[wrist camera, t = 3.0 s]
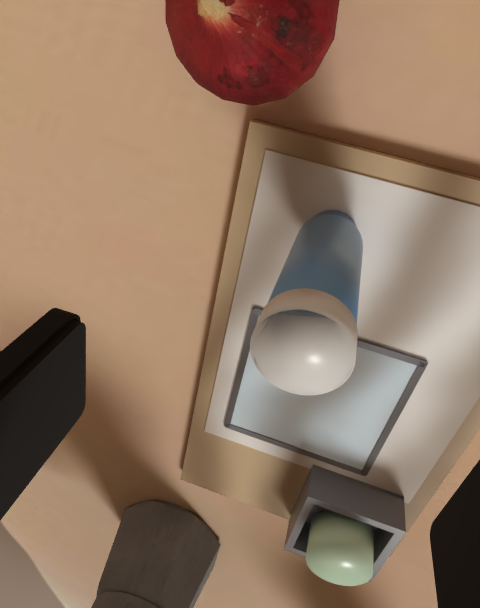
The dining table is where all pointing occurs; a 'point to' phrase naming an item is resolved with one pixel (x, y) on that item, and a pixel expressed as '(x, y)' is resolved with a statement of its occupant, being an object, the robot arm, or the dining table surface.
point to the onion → (251, 44)
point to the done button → (340, 549)
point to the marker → (313, 309)
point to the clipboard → (370, 325)
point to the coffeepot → (157, 559)
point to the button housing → (347, 511)
